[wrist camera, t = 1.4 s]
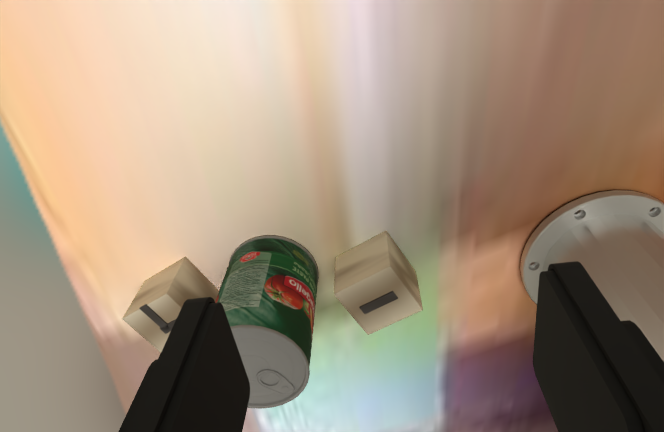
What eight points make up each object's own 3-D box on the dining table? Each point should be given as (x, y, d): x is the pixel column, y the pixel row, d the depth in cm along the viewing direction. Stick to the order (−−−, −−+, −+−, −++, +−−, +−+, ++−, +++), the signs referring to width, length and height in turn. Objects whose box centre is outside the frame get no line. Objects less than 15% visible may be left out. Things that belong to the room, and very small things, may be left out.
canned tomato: (211, 274, 43) (171, 372, 33) (264, 218, 40) (237, 308, 30) (282, 320, 45) (263, 423, 36) (337, 270, 42) (333, 369, 33)
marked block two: (223, 294, 44) (208, 334, 40) (182, 315, 46) (164, 357, 41) (184, 255, 42) (165, 293, 38) (144, 279, 43) (120, 319, 39)
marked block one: (415, 271, 42) (422, 311, 37) (366, 294, 43) (368, 336, 39) (386, 229, 40) (390, 267, 35) (335, 256, 41) (333, 295, 37)
